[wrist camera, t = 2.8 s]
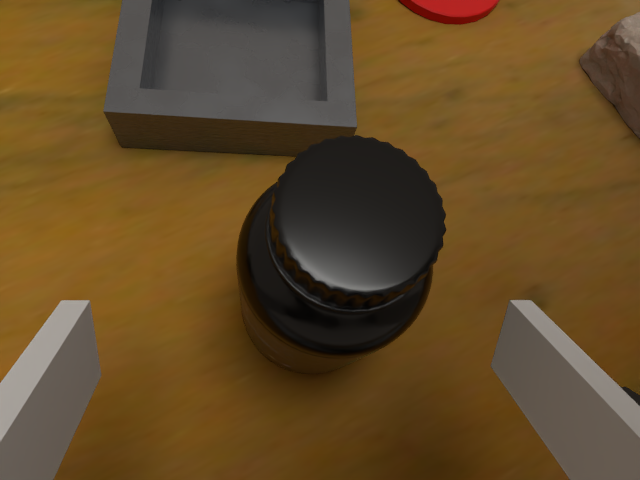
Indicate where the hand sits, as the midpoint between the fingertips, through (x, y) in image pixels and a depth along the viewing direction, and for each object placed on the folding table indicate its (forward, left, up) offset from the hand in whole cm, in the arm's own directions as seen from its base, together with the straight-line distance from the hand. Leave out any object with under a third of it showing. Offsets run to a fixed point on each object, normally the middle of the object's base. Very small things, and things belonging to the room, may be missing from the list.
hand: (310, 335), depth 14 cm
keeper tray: (+3, -18, -8) cm, 20 cm away
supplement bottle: (-1, -3, -8) cm, 9 cm away
